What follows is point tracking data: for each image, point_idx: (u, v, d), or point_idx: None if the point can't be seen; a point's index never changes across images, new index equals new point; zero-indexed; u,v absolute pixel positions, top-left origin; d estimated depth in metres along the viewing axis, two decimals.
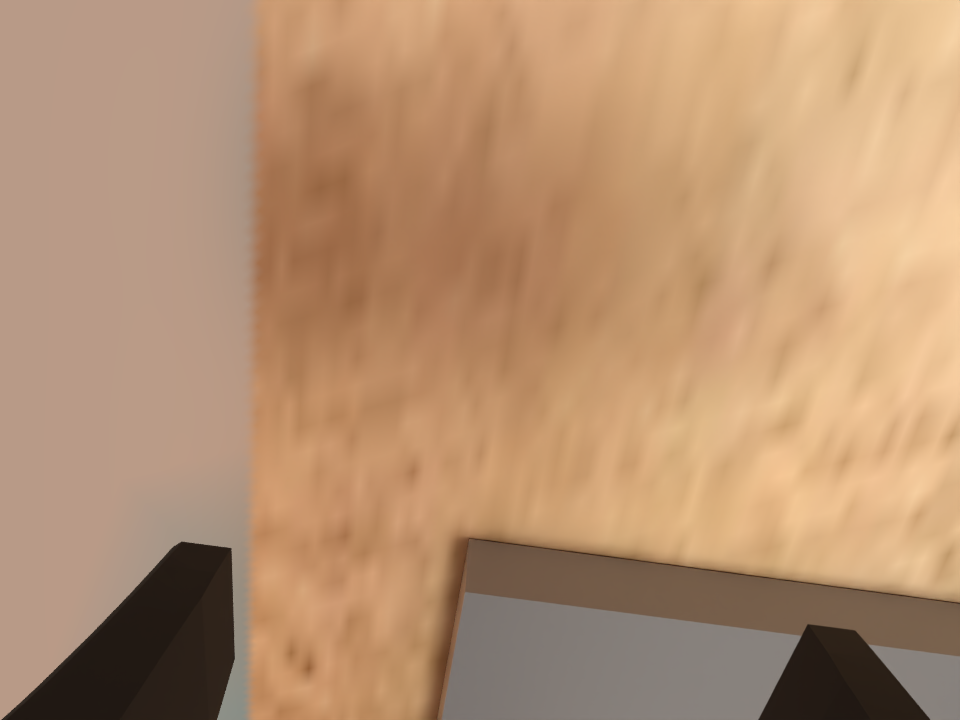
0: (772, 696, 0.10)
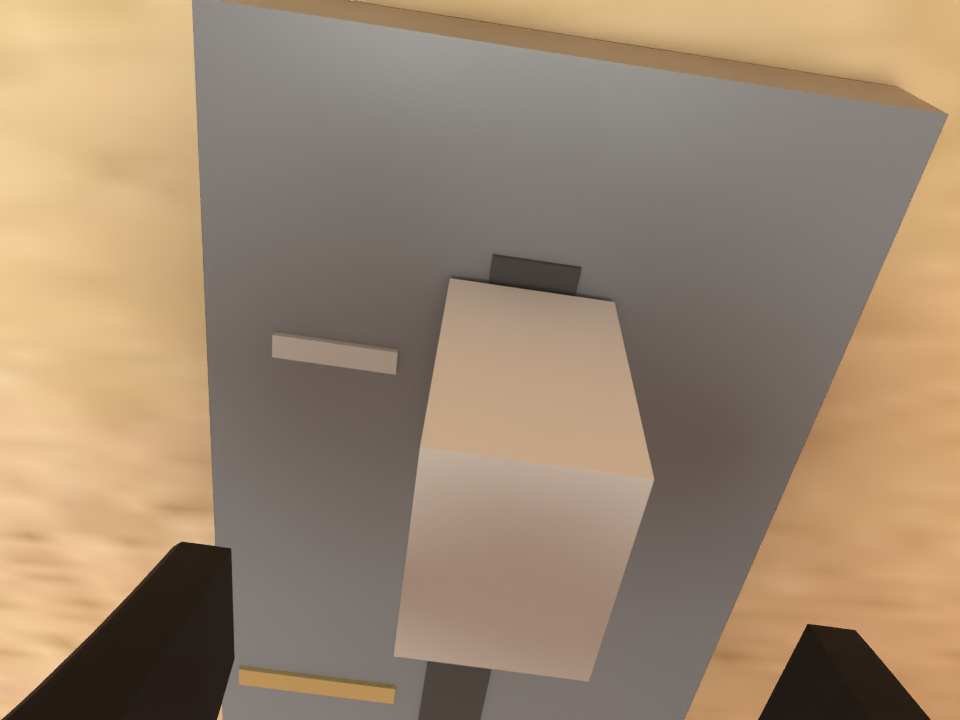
0: (772, 695, 0.10)
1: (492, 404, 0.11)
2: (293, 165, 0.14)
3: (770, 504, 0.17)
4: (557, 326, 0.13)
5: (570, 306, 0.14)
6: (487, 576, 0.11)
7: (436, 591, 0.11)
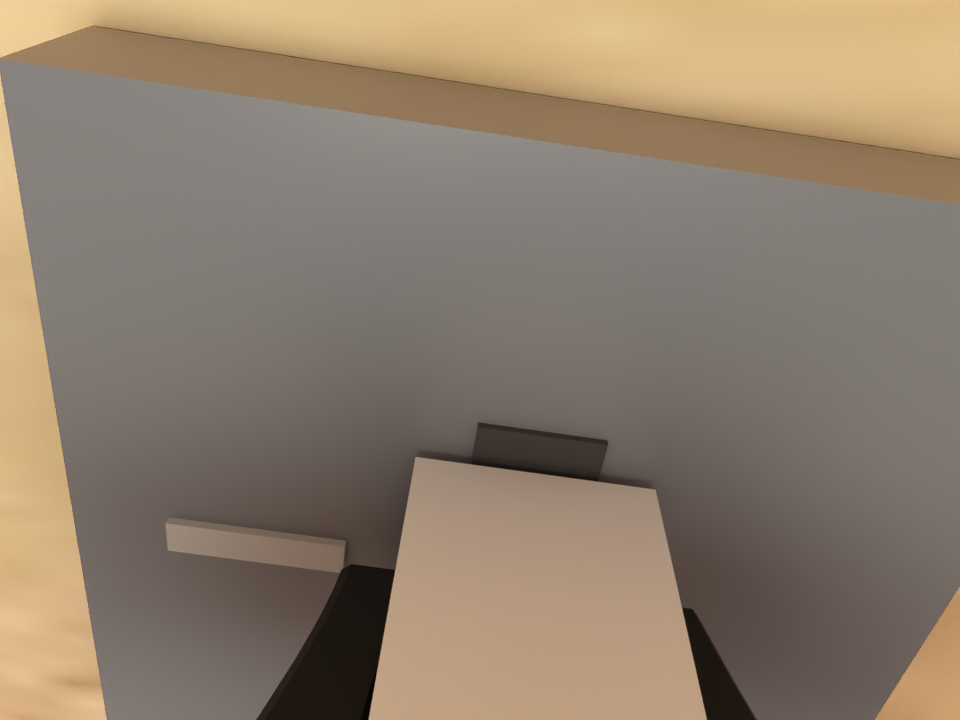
0: None
1: None
2: (178, 302, 0.09)
3: None
4: (574, 550, 0.09)
5: (591, 503, 0.10)
6: None
7: None
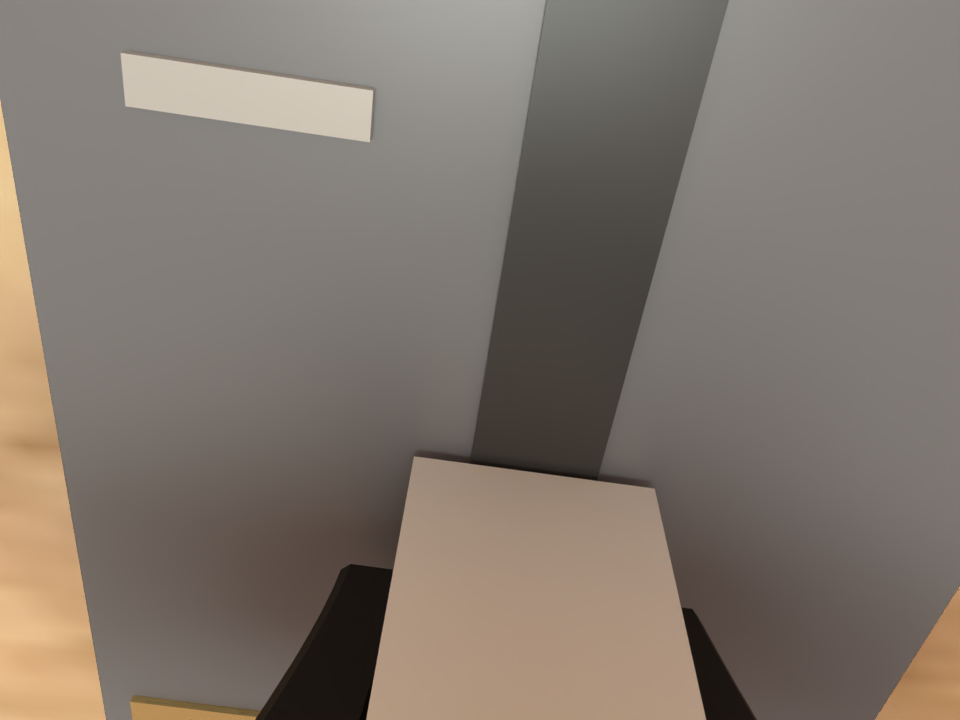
0: None
1: None
2: None
3: None
4: (573, 549, 0.09)
5: (591, 503, 0.10)
6: None
7: None
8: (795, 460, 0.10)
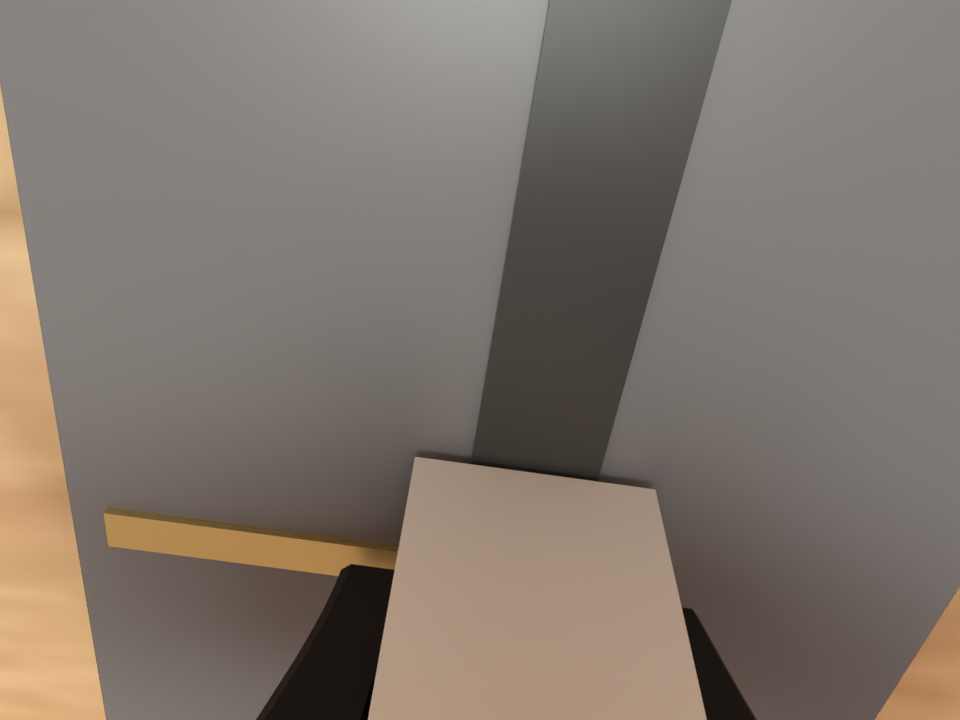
0: None
1: None
2: None
3: None
4: (574, 550, 0.09)
5: (591, 504, 0.10)
6: None
7: None
8: (935, 141, 0.08)
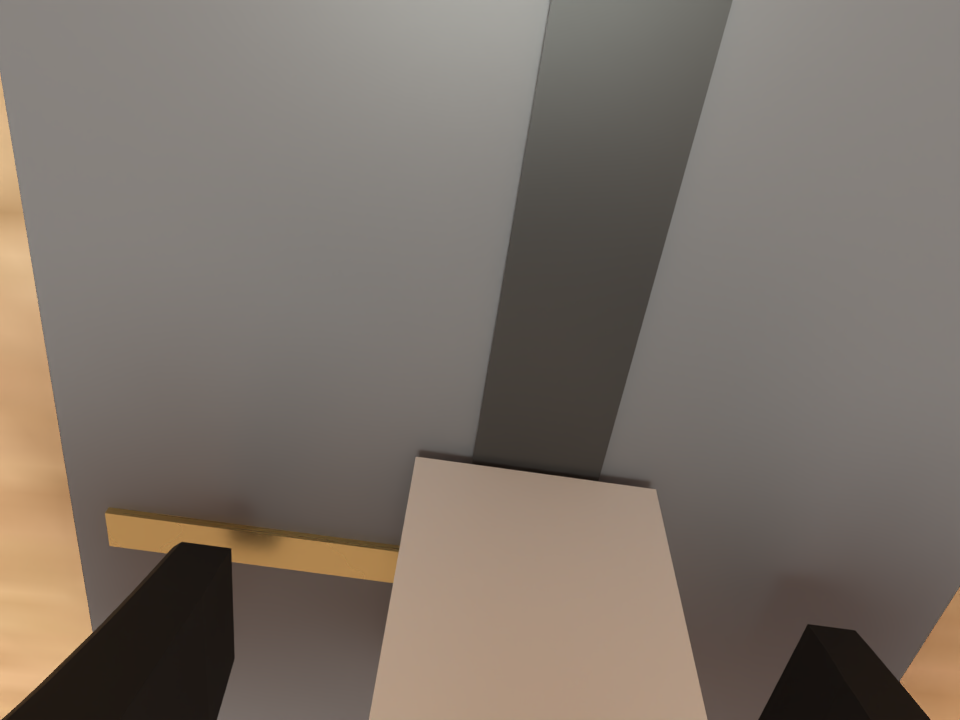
0: (772, 695, 0.10)
1: None
2: None
3: None
4: (574, 550, 0.09)
5: (591, 503, 0.10)
6: None
7: None
8: (936, 142, 0.08)
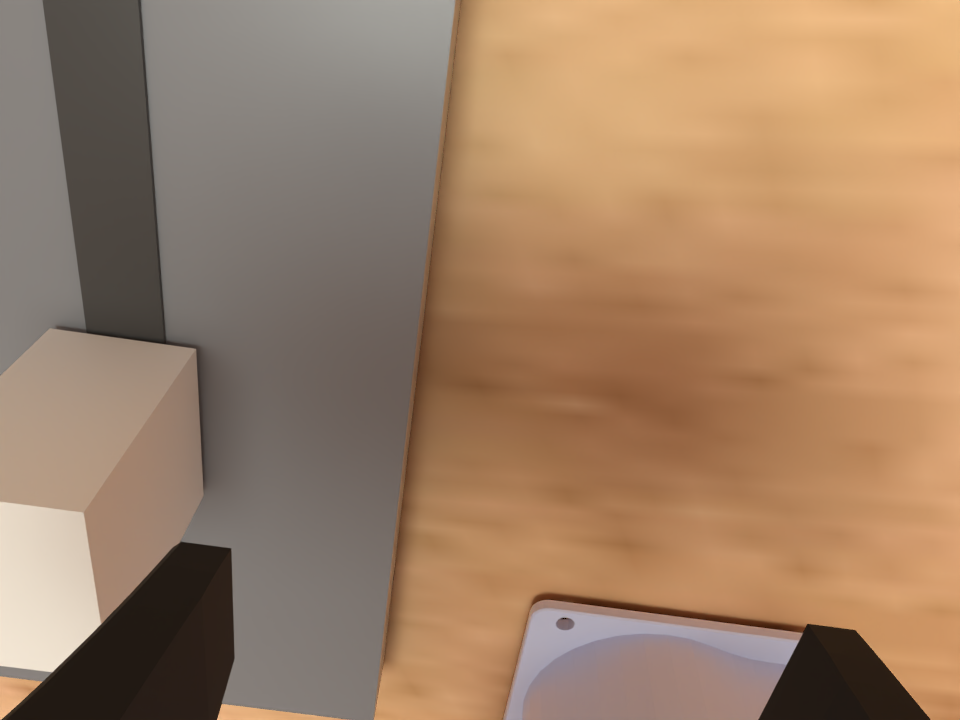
0: (772, 695, 0.10)
1: None
2: None
3: (436, 97, 0.14)
4: (116, 373, 0.15)
5: (147, 354, 0.16)
6: None
7: None
8: (280, 140, 0.14)
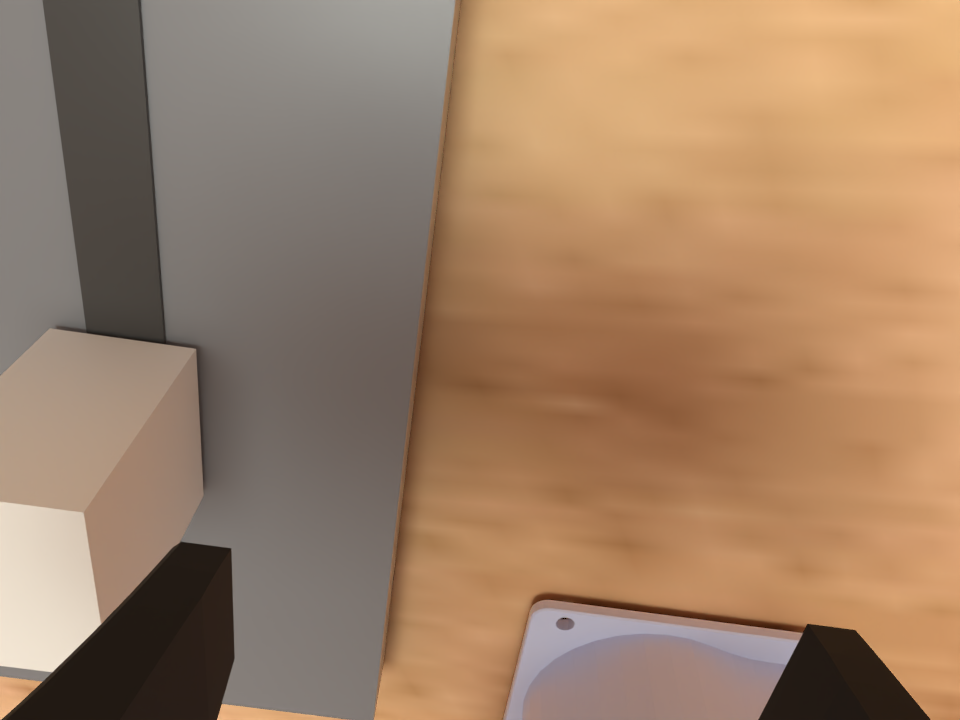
0: (772, 695, 0.10)
1: None
2: None
3: (436, 97, 0.14)
4: (116, 373, 0.15)
5: (147, 354, 0.16)
6: None
7: None
8: (280, 140, 0.14)
